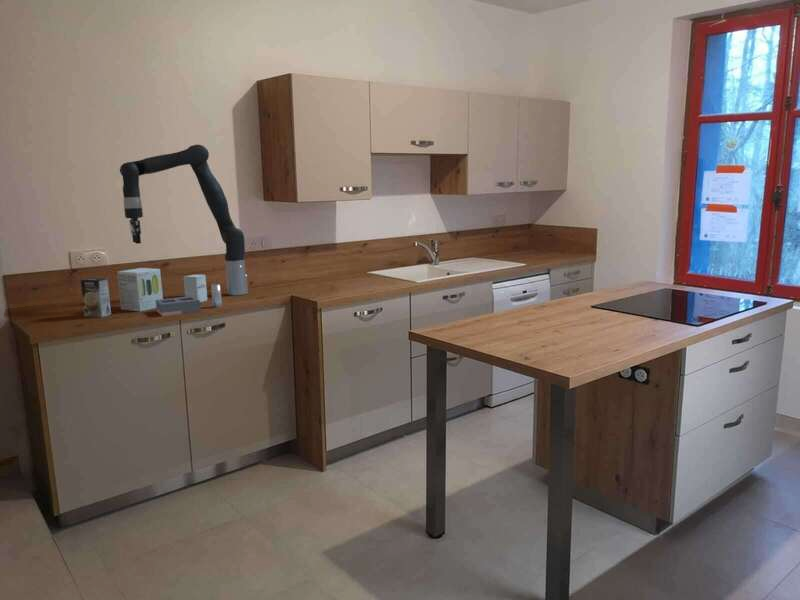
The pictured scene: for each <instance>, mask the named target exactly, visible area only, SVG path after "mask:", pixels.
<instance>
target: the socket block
mask: <svg viewBox="0 0 800 600" xmlns="http://www.w3.org/2000/svg"><path fill="white" fill-rule="evenodd" d="M155 309H156V312H157V313H158V314H159V315H160V316H161V317H168V316H175V315H176V316H177V315H184V314H192V313H193V314H194V313H200V312H202V309H201V302H200V300H199V299H197V298H195V297H194V296H187V297H185V296H181V297H179V296H178V297H172V298H170V297H169V298H163V299H160V300H156V308H155Z"/></svg>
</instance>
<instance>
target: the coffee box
mask: <svg viewBox="0 0 800 600" xmlns="http://www.w3.org/2000/svg"><path fill="white" fill-rule="evenodd" d="M80 286H81V293H82V294H81V295H82V303H83V304H82V305H83V312H84V313H83V315H84V317H88V318H91V317H93V318H104V317H107V316H111V315H112V310H111V300H110V289H109V280H108V278H107V277H105V278H104V277H89V278H83V279H80Z"/></svg>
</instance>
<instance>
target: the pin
mask: <svg viewBox="0 0 800 600" xmlns="http://www.w3.org/2000/svg"><path fill="white" fill-rule="evenodd" d="M210 287H211V299H212V307H213V308H214V307H216V308H222V307H223V300H222V289H221V284H219V283H215V284H211V285H210ZM216 308H215V309H216Z"/></svg>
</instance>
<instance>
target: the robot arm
mask: <svg viewBox="0 0 800 600" xmlns="http://www.w3.org/2000/svg"><path fill="white" fill-rule="evenodd" d="M209 156H210V153H209V150H208V149H207V148H206V147H205V146H204V145H202V144H194V145H190V146H189V147H187V148H186V149H184V150H180V151H176V152H172V153H168V154H167V153H166V154H165V153H164V154H160V155H156V156H151V157H150V156H149V157H146V158H143V159H140V160H136V161H135V160H134V161H127V162H125V163H122V164H121V165H120V167H119V172H120V175H121V176H122V182H123V185H122V193H123V194H122V195H123V210H124V217H125V218H126V219H129V228H130V233H131V235H132V236H131V237H132V242H133V243H134V244H136V245H138V244H141V243H142V241H141V234H142V231H141V221H140V220H139V219H141V218H143V217H144V213H143V212H144V211H143V204H142V200H141V193H140V192H141V191H140V176H143V175H150V174H155V173H159V172H163V171H166V170H170V169H173V168H176V167H181V166H186V165H189V166H190V168H191V169H192V171H193V172H194V174H195V177H196V179H197V181H198V184H199V187H200V190H201V192H202V194H203V197H204V200H205V201H206V204H207V205H208V208H209V210H210V212H211V214H212V217H213V218H214V220H215V222H216V224H217V227H218V230H219V233H220V236H221V239H222V242H224V244H225V255H224V260H225V276H226V285H227V295H228V296H241V295H242V296H243V295H247V294H249V290H248V277H247V276H248V275H247V274H246V265H245V254H246V246H245V242H246V241H245V235H244V232H243V231H242V229H240V228H236V225H235V223H234V222H233V220H232V218H231V215H230V210H229V209H230V208H229V205H228V200H227V197H226V195H225V193H224V190H223V188H222V187H221V184H220V183H219V181H218V180H217V179H216V177H215V176H214V174H213V173H212V171H211V169H210V166H209V164H208V159H209V158H210V157H209Z"/></svg>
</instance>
